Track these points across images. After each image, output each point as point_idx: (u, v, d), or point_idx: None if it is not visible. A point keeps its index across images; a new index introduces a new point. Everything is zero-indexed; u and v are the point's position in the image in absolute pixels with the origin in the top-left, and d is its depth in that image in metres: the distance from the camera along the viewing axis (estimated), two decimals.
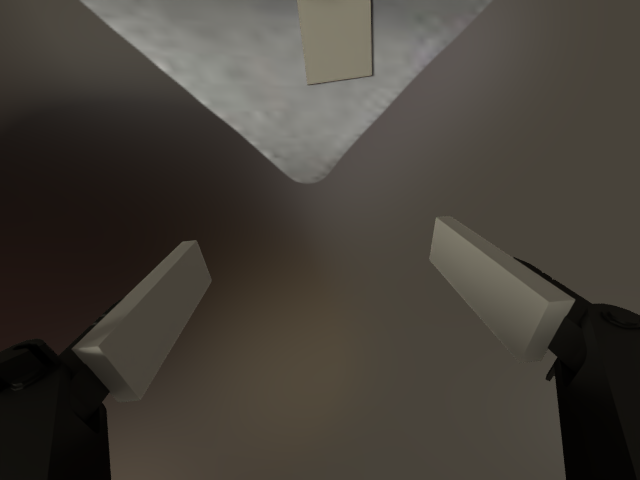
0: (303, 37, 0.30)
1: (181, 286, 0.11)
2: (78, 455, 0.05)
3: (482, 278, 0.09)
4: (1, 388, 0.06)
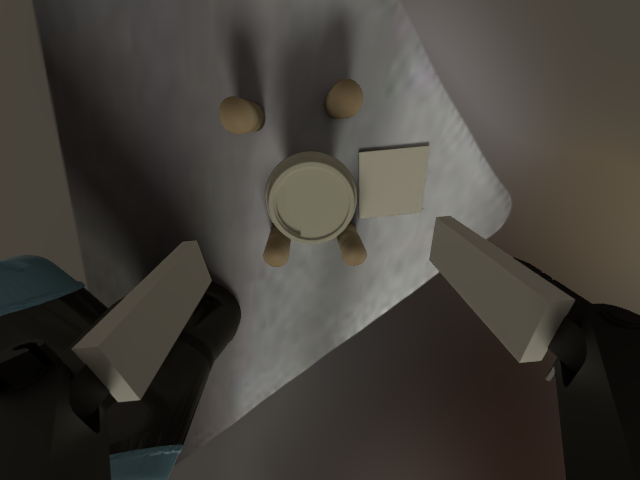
0: (386, 214, 0.33)
1: (181, 286, 0.11)
2: (78, 455, 0.05)
3: (482, 278, 0.09)
4: (1, 388, 0.06)
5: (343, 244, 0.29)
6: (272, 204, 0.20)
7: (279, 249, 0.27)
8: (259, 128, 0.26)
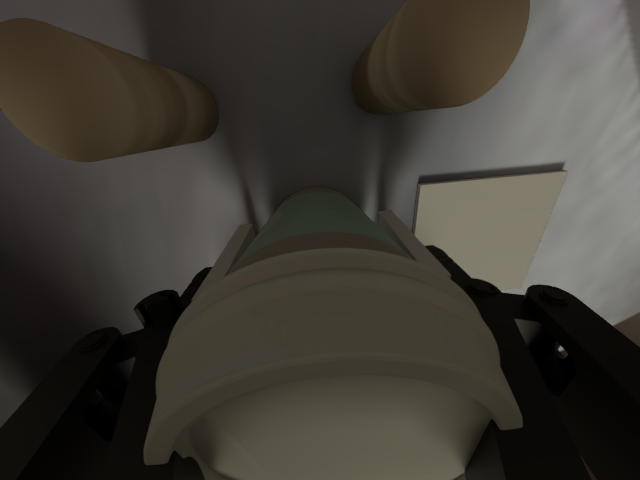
0: None
1: None
2: None
3: None
4: (148, 323, 0.07)
5: None
6: None
7: None
8: (200, 136, 0.11)
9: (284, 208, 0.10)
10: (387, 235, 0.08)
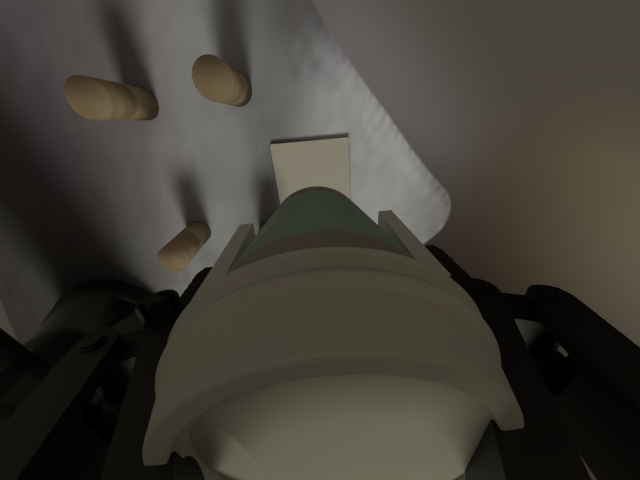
0: None
1: None
2: None
3: None
4: (148, 323, 0.07)
5: None
6: None
7: (174, 251, 0.24)
8: (147, 116, 0.23)
9: (284, 207, 0.10)
10: (387, 234, 0.08)
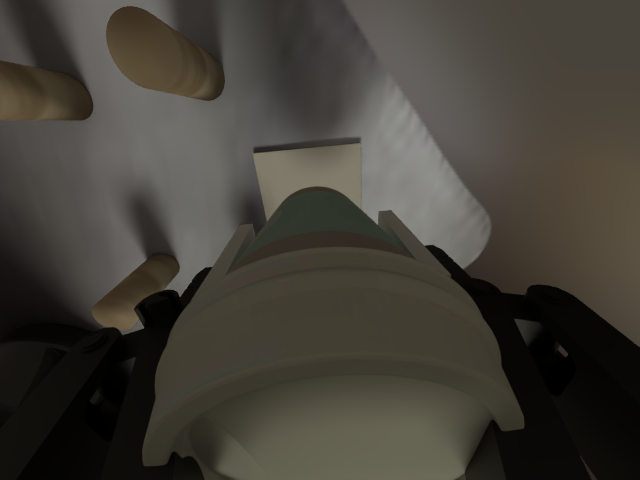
0: None
1: None
2: None
3: None
4: (148, 323, 0.07)
5: None
6: None
7: (116, 307, 0.17)
8: (72, 114, 0.16)
9: (284, 207, 0.10)
10: (387, 234, 0.08)
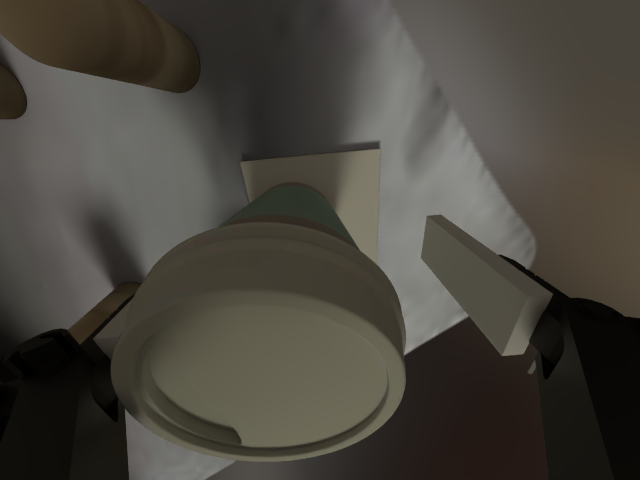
0: None
1: None
2: (98, 443, 0.05)
3: (468, 275, 0.09)
4: (28, 375, 0.06)
5: None
6: (129, 400, 0.06)
7: None
8: None
9: (255, 199, 0.12)
10: (336, 222, 0.10)
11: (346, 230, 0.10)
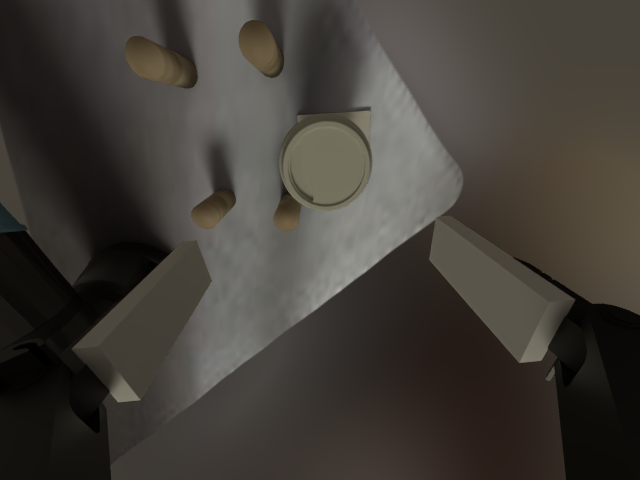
0: None
1: (181, 286, 0.11)
2: (78, 455, 0.05)
3: (482, 278, 0.09)
4: (1, 388, 0.06)
5: (277, 208, 0.28)
6: (286, 165, 0.19)
7: (207, 209, 0.27)
8: (188, 83, 0.26)
9: None
10: None
11: None
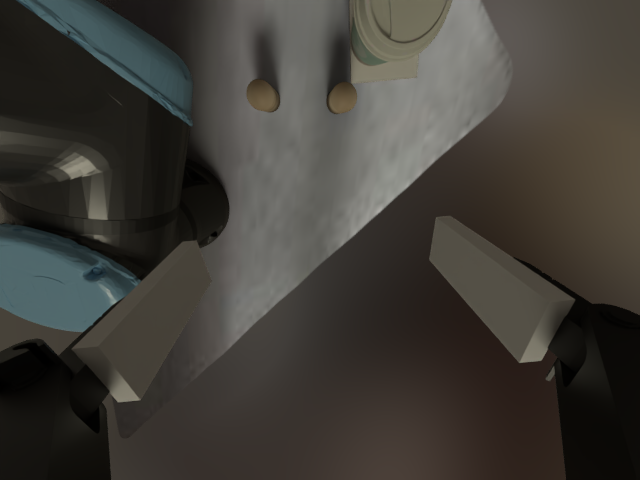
0: (379, 78, 0.31)
1: (181, 286, 0.11)
2: (78, 455, 0.05)
3: (482, 278, 0.09)
4: (1, 388, 0.06)
5: (332, 90, 0.27)
6: None
7: (264, 85, 0.26)
8: None
9: None
10: None
11: None
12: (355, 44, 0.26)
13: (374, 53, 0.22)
